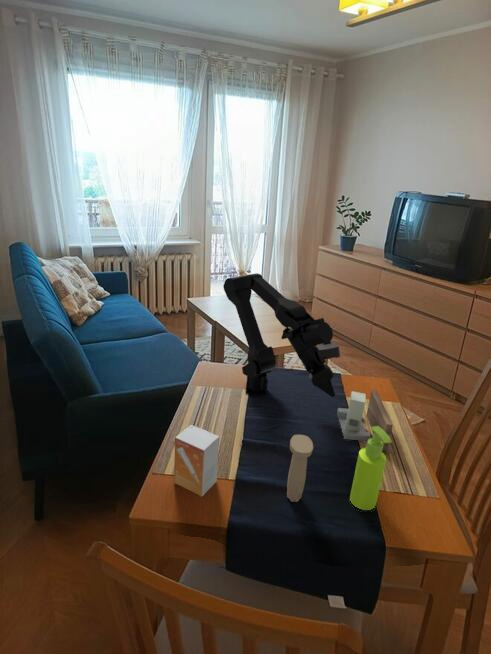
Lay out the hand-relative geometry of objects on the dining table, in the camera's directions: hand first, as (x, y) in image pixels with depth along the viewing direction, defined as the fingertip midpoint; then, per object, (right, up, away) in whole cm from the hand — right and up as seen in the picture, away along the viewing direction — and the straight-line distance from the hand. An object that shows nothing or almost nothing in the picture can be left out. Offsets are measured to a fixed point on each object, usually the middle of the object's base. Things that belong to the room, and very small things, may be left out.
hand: (330, 390), depth 130 cm
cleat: (+6, -11, 0) cm, 13 cm away
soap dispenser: (+2, -22, -29) cm, 37 cm away
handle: (-14, -21, -29) cm, 38 cm away
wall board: (+13, -12, -2) cm, 18 cm away
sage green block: (+6, -10, 0) cm, 12 cm away
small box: (-37, -18, -27) cm, 49 cm away
